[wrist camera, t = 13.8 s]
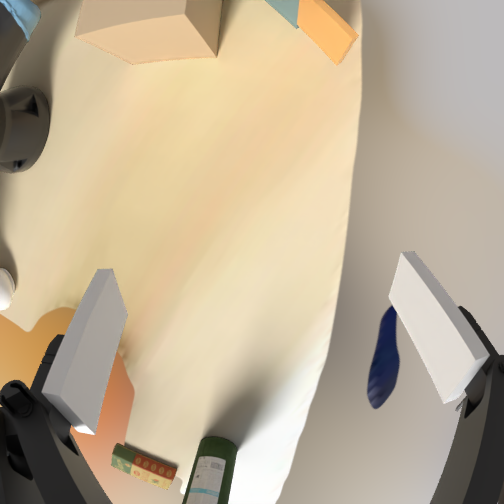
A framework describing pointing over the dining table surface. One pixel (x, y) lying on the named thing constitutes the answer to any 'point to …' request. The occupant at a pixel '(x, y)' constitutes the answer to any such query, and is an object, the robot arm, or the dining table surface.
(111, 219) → the dining table surface
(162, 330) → the dining table surface
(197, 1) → the kraft box
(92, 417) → the robot arm
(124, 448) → the carton
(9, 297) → the flower vase
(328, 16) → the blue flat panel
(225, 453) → the wine bottle
